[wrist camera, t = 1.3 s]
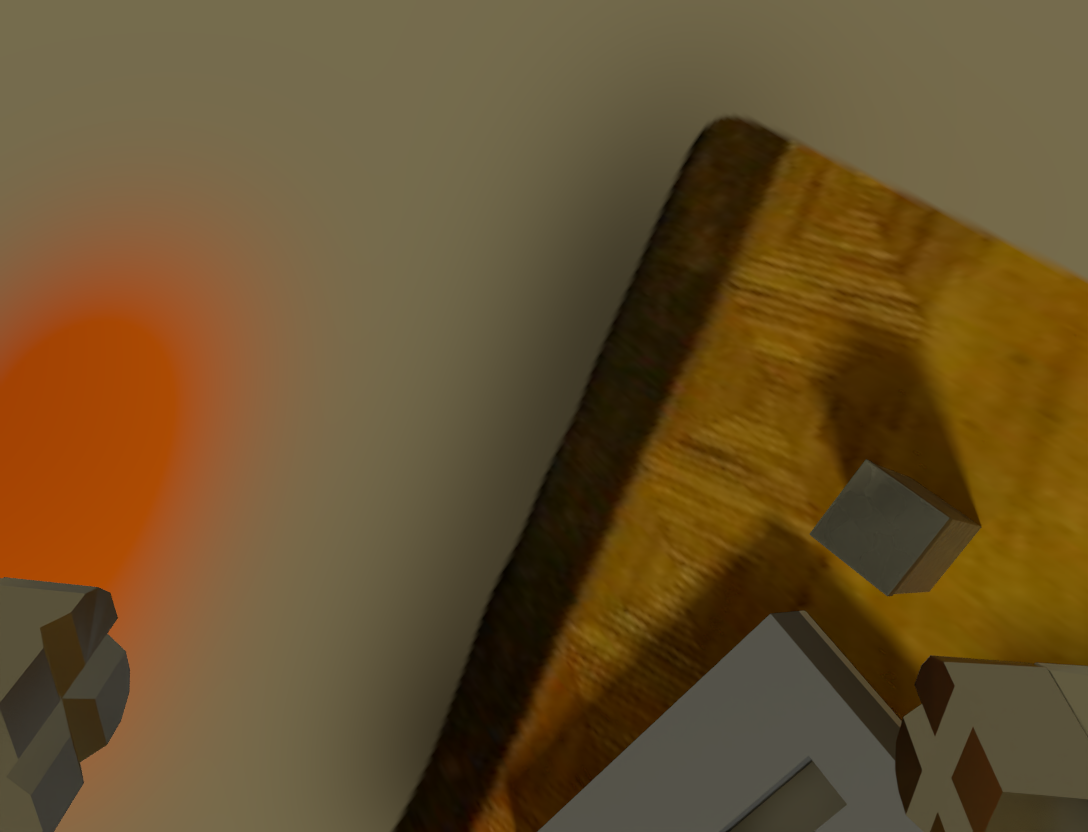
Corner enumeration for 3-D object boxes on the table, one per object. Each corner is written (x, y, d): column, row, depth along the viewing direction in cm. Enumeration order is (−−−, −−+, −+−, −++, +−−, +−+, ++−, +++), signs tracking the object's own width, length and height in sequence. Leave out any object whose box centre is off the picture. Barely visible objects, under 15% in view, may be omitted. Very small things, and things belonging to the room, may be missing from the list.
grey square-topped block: (983, 526, 43) (949, 517, 36) (929, 593, 44) (887, 596, 37) (910, 475, 45) (866, 459, 38) (860, 540, 46) (809, 534, 39)
